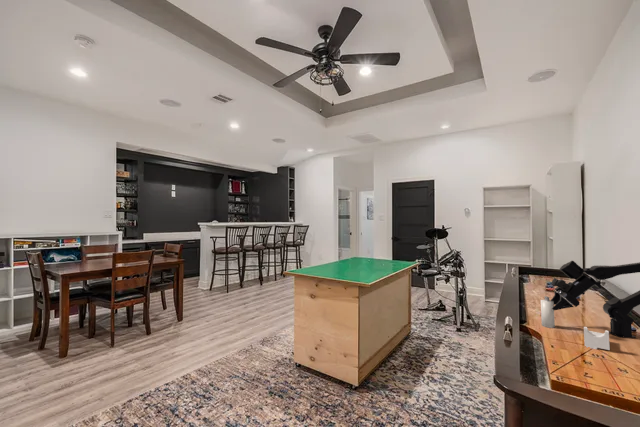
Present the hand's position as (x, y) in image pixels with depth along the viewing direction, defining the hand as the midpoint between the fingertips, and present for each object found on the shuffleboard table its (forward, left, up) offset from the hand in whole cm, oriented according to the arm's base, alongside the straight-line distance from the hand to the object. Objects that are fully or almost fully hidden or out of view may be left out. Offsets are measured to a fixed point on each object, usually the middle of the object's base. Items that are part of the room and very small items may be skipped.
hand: (550, 307), depth 140 cm
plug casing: (+1, +1, -9) cm, 9 cm away
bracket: (-22, -3, -10) cm, 24 cm away
